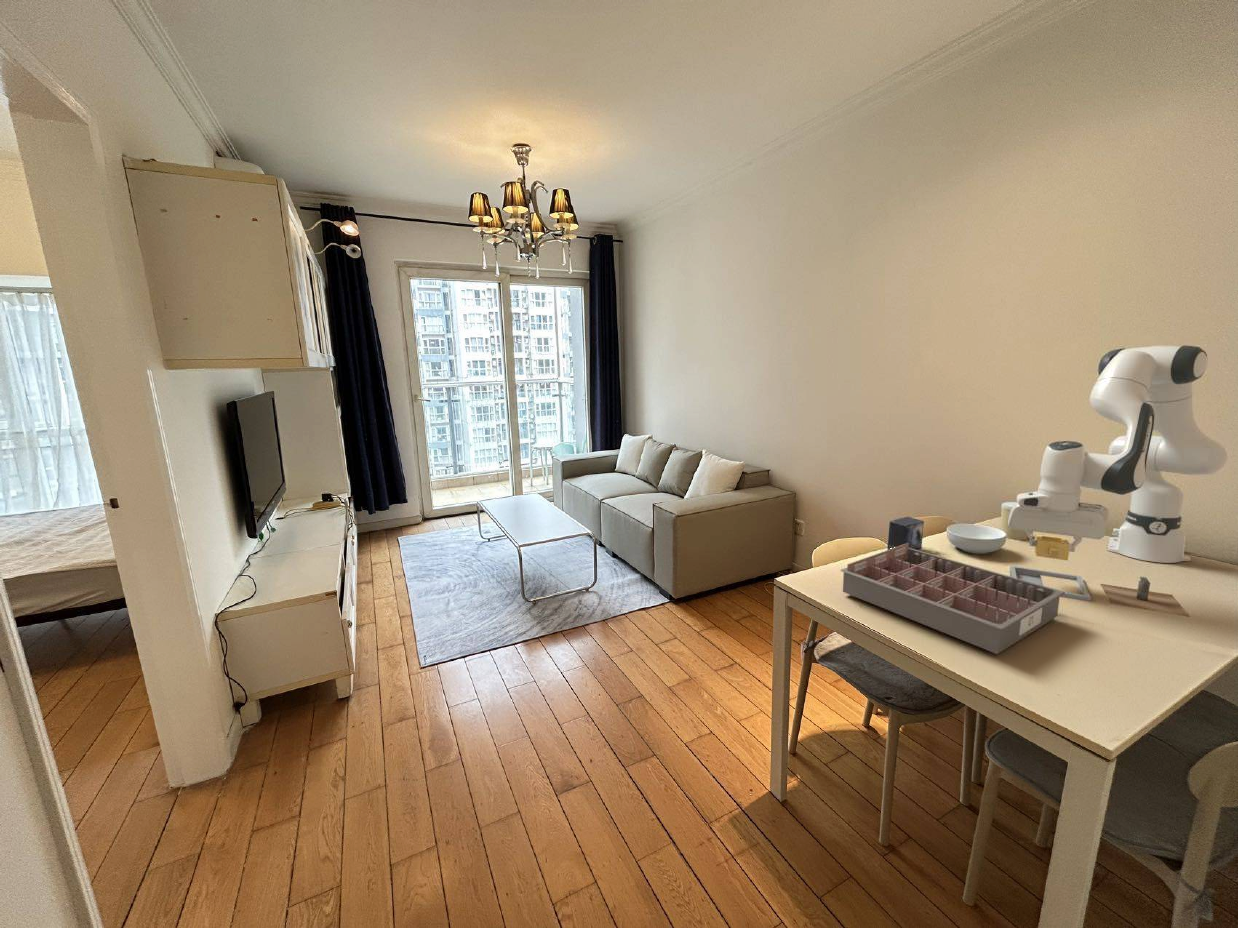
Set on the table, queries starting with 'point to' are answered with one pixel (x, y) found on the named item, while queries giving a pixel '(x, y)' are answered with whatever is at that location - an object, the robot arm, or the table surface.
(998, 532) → the cereal bowl
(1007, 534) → the coffee cup
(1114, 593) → the board with post
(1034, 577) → the tray
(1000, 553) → the table surface
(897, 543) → the small box
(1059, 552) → the collar
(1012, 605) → the organizer tray
